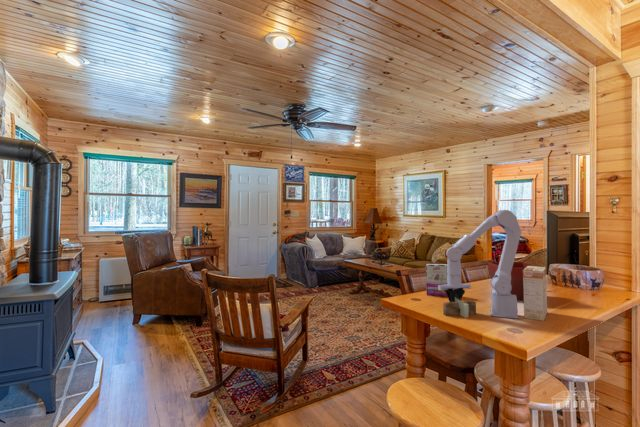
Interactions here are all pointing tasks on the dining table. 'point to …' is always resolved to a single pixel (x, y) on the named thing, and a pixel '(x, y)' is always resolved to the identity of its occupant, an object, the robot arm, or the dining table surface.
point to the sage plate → (462, 307)
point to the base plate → (453, 309)
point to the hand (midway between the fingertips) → (454, 305)
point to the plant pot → (513, 276)
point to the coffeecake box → (535, 292)
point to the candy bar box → (436, 279)
